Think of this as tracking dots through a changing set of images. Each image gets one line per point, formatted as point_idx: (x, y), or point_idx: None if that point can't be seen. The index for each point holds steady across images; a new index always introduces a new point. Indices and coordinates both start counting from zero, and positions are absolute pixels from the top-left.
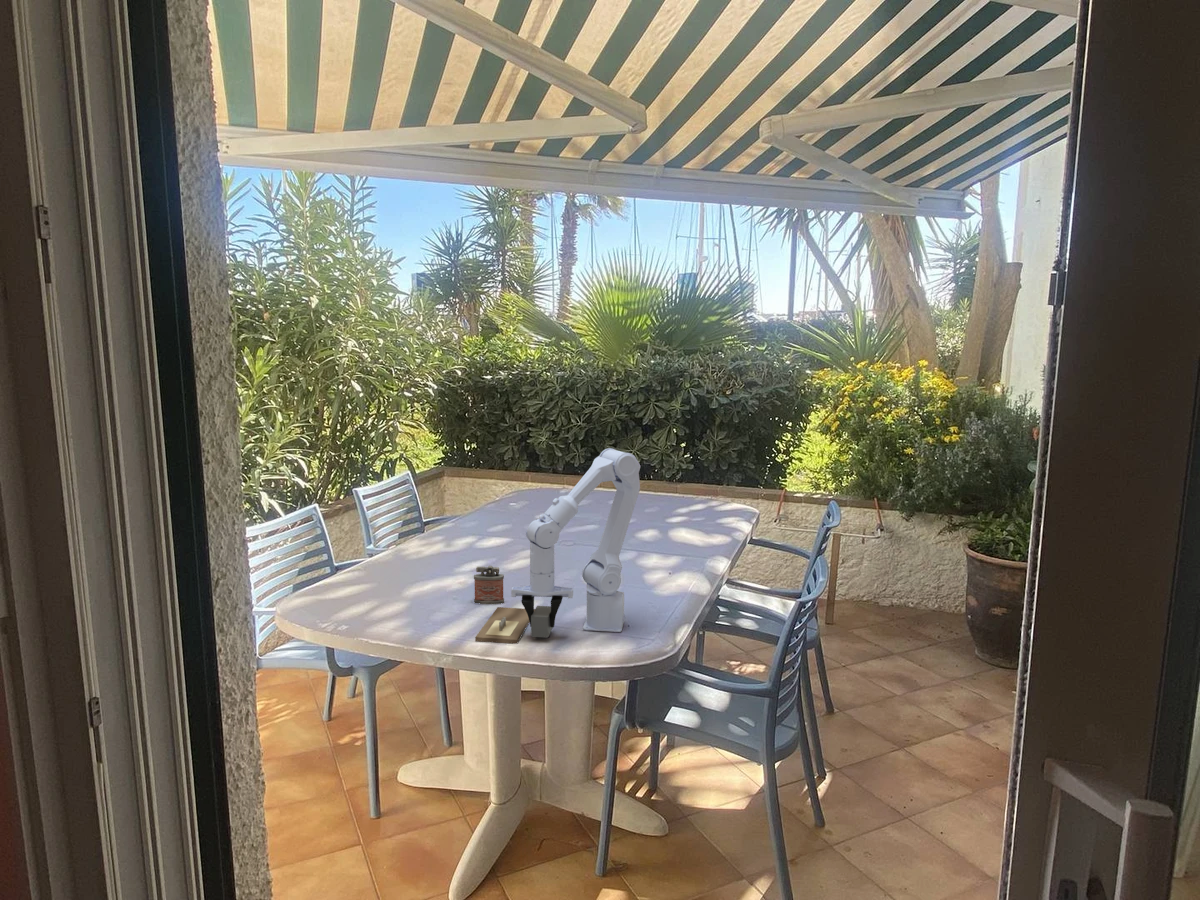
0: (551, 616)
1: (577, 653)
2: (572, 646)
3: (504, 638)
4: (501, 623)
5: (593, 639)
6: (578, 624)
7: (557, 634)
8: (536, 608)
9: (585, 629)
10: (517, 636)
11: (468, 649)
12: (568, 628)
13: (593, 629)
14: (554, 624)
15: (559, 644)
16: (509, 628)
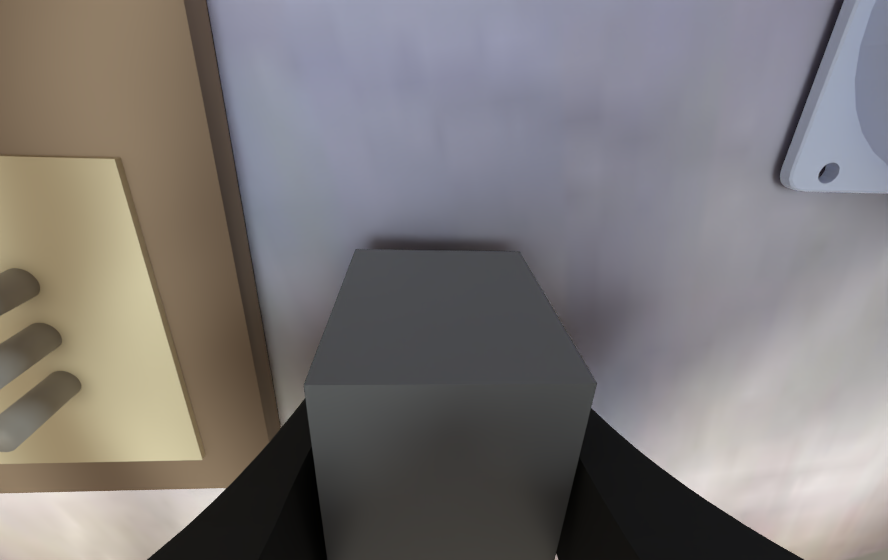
0: (560, 556)
1: None
2: (647, 443)
3: (180, 484)
4: (20, 444)
5: (808, 334)
6: (760, 12)
7: (545, 285)
8: (330, 483)
9: (802, 188)
10: (259, 445)
11: (30, 553)
12: (644, 143)
13: (876, 192)
14: None
15: None
16: (118, 342)
